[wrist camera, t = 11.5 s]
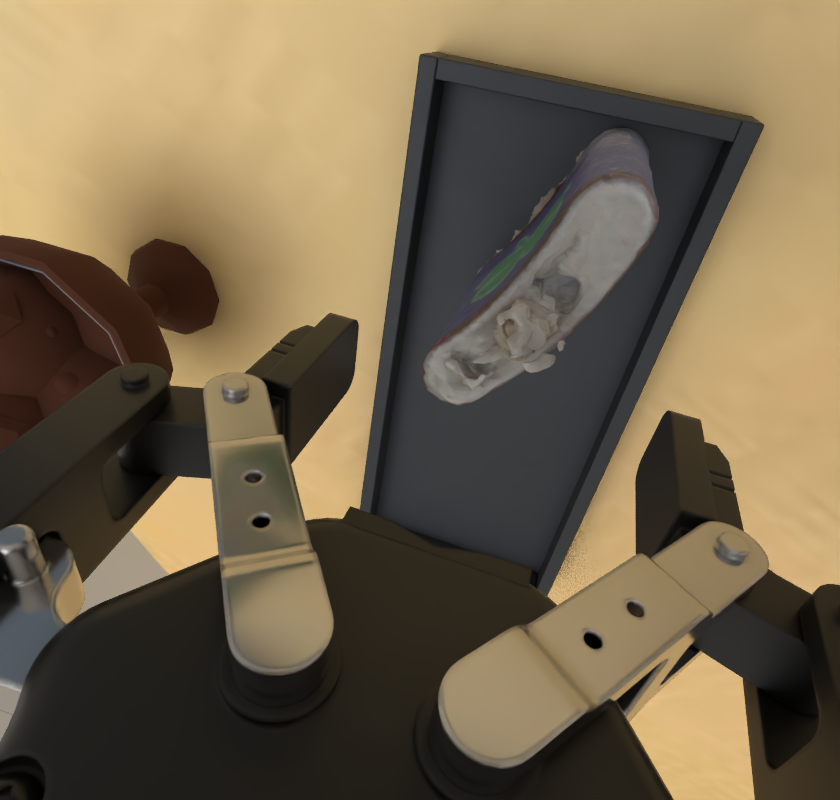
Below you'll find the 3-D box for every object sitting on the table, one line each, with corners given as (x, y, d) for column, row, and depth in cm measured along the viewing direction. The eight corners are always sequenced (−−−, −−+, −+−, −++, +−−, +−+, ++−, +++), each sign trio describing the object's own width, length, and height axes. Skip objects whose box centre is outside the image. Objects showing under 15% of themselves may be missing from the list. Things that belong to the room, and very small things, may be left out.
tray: (752, 116, 21) (765, 124, 19) (547, 576, 36) (543, 604, 34) (435, 51, 22) (419, 53, 21) (368, 515, 38) (355, 540, 36)
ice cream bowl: (298, 340, 32) (98, 533, 20) (166, 390, 37) (-57, 567, 25) (185, 151, 28) (-154, 247, 16) (55, 237, 33) (-277, 359, 21)
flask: (615, 110, 21) (612, 169, 13) (672, 164, 22) (706, 257, 13) (462, 284, 26) (385, 409, 18) (509, 324, 27) (457, 466, 18)
